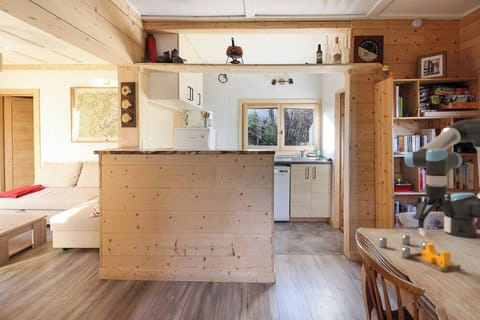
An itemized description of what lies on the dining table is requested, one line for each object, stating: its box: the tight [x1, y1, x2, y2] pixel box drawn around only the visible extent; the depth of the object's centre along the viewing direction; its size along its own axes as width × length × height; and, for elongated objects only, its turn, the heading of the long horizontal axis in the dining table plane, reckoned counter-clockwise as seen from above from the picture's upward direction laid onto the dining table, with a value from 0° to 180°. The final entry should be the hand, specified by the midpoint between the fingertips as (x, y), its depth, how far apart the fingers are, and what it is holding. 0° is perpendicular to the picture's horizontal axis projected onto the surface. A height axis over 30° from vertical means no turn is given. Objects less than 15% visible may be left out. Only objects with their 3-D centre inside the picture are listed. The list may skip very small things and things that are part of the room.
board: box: [410, 252, 461, 273], centre depth 132 cm, size 10×16×2 cm, turn 15°
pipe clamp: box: [421, 242, 452, 267], centre depth 131 cm, size 12×4×6 cm, turn 2°
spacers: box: [379, 234, 428, 260], centre depth 147 cm, size 17×18×4 cm
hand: (435, 233), depth 131 cm, fingers open, 13 cm apart
